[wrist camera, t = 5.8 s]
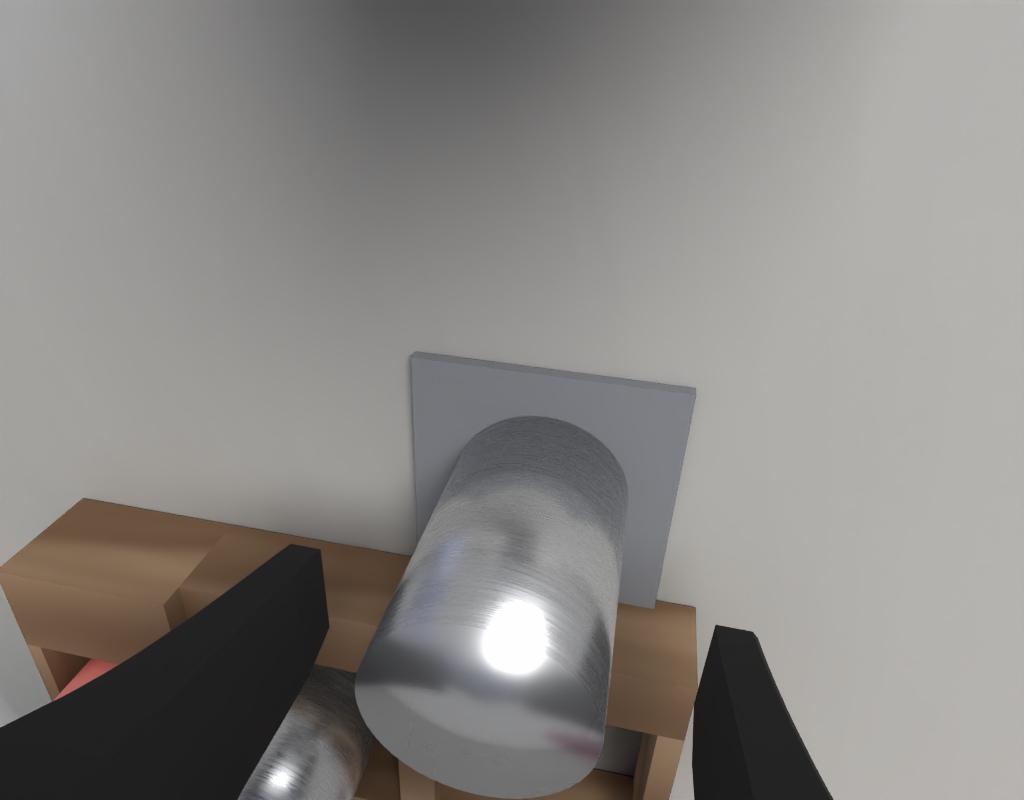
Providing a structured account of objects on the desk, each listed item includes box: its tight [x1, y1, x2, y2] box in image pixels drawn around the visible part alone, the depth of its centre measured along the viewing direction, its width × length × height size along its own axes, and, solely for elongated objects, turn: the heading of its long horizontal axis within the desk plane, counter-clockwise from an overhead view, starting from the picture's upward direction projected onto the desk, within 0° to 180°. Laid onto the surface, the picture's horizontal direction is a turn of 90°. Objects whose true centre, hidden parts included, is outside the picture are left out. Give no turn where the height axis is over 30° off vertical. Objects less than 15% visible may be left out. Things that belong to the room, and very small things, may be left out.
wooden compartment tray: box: [0, 498, 698, 800], centre depth 20 cm, size 9×17×3 cm, turn 88°
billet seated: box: [237, 664, 377, 800], centre depth 18 cm, size 4×4×6 cm
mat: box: [411, 352, 696, 609], centre depth 16 cm, size 6×6×1 cm
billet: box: [355, 416, 629, 799], centre depth 14 cm, size 4×4×6 cm
